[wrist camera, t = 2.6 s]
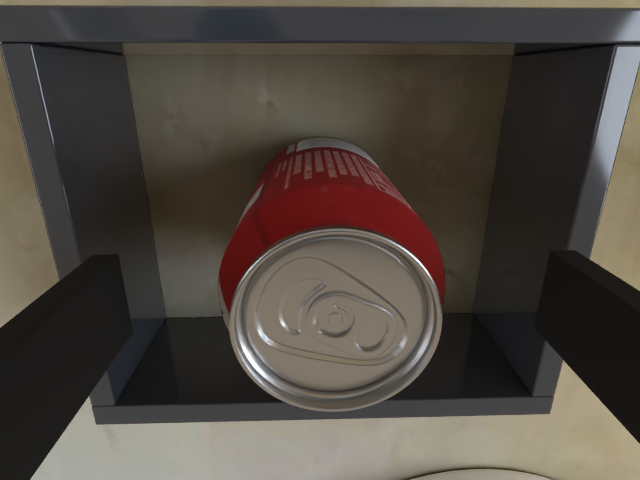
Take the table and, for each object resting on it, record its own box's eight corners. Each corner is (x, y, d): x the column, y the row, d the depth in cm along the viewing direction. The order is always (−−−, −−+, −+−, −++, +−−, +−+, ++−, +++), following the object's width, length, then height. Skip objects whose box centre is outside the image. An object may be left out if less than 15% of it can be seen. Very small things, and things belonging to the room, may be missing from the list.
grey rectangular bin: (99, 30, 19) (-13, 4, 12) (537, 31, 19) (656, 7, 13) (151, 332, 24) (95, 425, 18) (486, 326, 25) (550, 414, 18)
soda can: (288, 111, 20) (265, 152, 9) (408, 169, 21) (520, 270, 10) (237, 229, 22) (167, 383, 11) (349, 276, 23) (387, 457, 12)
